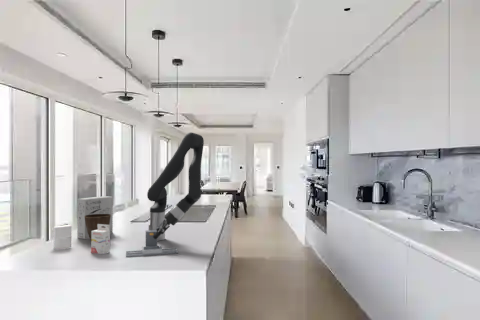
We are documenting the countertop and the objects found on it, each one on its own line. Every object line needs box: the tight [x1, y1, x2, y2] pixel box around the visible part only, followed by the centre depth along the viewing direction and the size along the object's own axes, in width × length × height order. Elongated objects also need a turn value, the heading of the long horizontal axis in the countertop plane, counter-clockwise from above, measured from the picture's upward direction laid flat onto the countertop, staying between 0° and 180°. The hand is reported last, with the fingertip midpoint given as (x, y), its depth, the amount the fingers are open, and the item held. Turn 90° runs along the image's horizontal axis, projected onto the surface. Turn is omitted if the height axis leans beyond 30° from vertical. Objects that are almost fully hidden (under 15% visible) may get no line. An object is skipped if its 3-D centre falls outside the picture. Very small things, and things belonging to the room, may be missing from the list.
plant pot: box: [84, 214, 111, 241], centre depth 213 cm, size 15×15×16 cm
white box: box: [53, 224, 73, 250], centre depth 198 cm, size 9×9×12 cm
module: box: [145, 229, 158, 247], centre depth 195 cm, size 6×5×10 cm
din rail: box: [125, 245, 178, 258], centre depth 186 cm, size 26×9×3 cm, turn 107°
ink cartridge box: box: [90, 224, 111, 255], centre depth 187 cm, size 9×5×15 cm, turn 71°
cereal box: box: [76, 195, 114, 240], centre depth 231 cm, size 22×8×25 cm, turn 150°
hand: (153, 236), depth 195 cm, fingers open, 8 cm apart
